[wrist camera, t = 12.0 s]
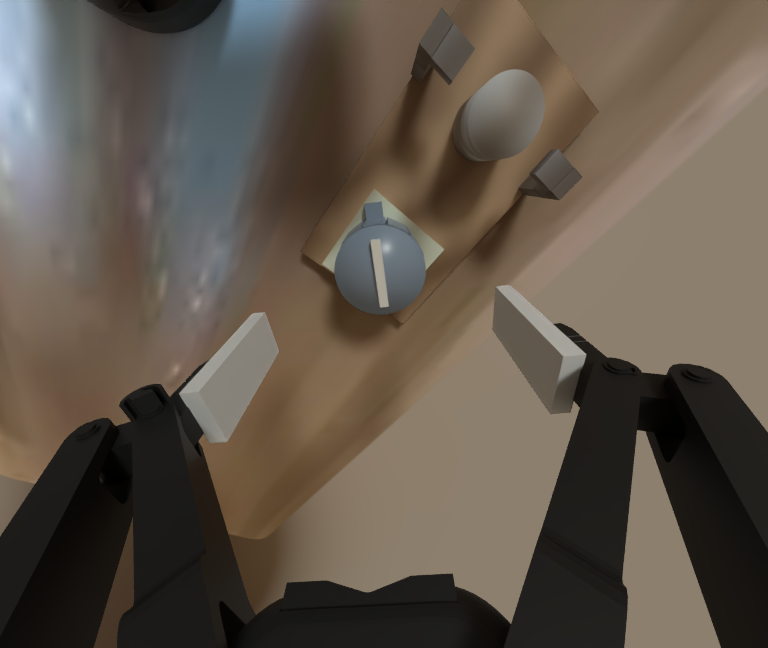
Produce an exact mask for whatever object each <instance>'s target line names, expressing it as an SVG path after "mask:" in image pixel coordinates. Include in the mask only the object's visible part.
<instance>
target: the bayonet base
mask: <svg viewBox="0 0 768 648" xmlns="http://www.w3.org/2000/svg"><path fill="white" fill-rule="evenodd" d="M411 74H412V75H413V76H412V78H411V80H410V81H409V83H408V84H407V86H406V87H405V89H404V90H403V92H402V94H401V95H400V97H399V98H398V100H397V101H396V103H395V105H394V106H393V108H392V109H391V111H390V112H389V114H388V115H387V117H386V119H385V120H384V122H383V123H382V125H381V126H380V128H379V129H378V131H377V133H376V134H375V136H374V137H373V139H372V140H371V142H370V143H369V145H368V147H367V148H366V150H365V151H364V153H363V154H362V156H361V158H360V159H359V161H358V162H357V164H356V165H355V167H354V168H353V170H352V172H351V173H350V175H349V176H348V178H347V179H346V181H345V182H344V184H343V186H342V187H341V189H340V190H339V192H338V193H337V195H336V196H335V198H334V200H333V201H332V203H331V204H330V206H329V207H328V209H327V211H326V212H325V214H324V215H323V217H322V218H321V220H320V221H319V223H318V225H317V226H316V228H315V229H314V231H313V232H312V234H311V235H310V237H309V239H308V240H307V242H306V243H305V245H304V246H303V248H302V249H301V252H302V253H303V254H305V255H306V256H308V257H309V258H310V259H312V260H313V261H315V262H316V263H318V264H319V265H320V266H322V267H323V268H325V269H326V270H327V271H329V272H330V273H332V274H333V275H334V276H335V274H334V267H335V261H336V257H337V254H338V252H339V250H340V247H341V244H342V242H343V240H344V239H345V237H346V235H347V234H348V232H350V231H351V230H352V229H353V228H354V227H356V226H357V225H358V224H359V223H360V222H362V221H363V220H364V222H365V219H366V213H365V206H364V204H365V203H371V202H378V201H382V208H383V216H384V217H385V220H386V219H387V217H389V218H391V219H393V220H396V221H398V222H400V223H402V224H405V225H406V227H408V228H409V230H410V231H411V233H412V234H413V236H414V237H415V239H416V240H417V241H418V243H419V245H420V247H421V249H422V251H423V254H424V260H425V266H426V276H425V281H424V285H423V287H422V290H421V291H420V293H419V295H418V296H417V297H416V299H415V300H414V301H413V302H412V303H411V304H410V305H408V306H407V307H405V308H404V309H402V310H400V311H397V312H395V313H391V314H389V315H391V316H392V317H394V318H395V319H397V320H398V321H399V322H401V323H402V324H403V323H404V322H405V321H406V320H407V319H408V318H409V316H410V315H411V314H412V313H413V312H414V311H415V310H416V309H417V308H418V307H419V306H420V305H421V304H422V302H423V301H424V300H425V299H426V298H427V297H428V296H429V295H430V294H431V293H432V292H433V291H434V289H435V288H436V287H437V286H438V285H439V284H440V283H441V282H442V281H443V280H444V279H445V278H446V277H447V275H448V274H449V273H450V272H451V271H452V270H453V269H454V268H455V267H456V266H457V265H458V264H459V263H460V261H461V260H462V259H463V258H464V257H465V256H466V255H467V254H468V253H469V252H470V251H471V250H472V249H473V247H474V246H475V245H476V244H477V243H478V242H479V241H480V240H481V239H482V238H483V237H484V236H485V235H486V233H487V232H488V231H489V230H490V229H491V228H492V227H493V226H494V225H495V224H496V223H497V222H498V221H499V219H500V218H501V217H502V216H503V215H504V214H505V213H506V212H507V211H508V210H509V209H510V208H511V207H512V205H513V204H514V203H515V202H516V201H517V200H518V199H519V198H520V197H521V196H522V195H523V194H525V195H529V196H535V197H542V198H548V199H555V200H560V199H561V198H562V197H563V196H564V195H565V194H566V193H567V192H568V191H569V190H570V189H571V188H572V187H573V186H574V185H575V184H576V183H577V182H578V181H579V180H580V179H581V178H582V176H581V175H580V174H579V172H578V171H577V170H576V169H575V168H574V167H573V166H572V165H571V164H570V163H569V161H568V160H567V159H566V158H565V157H564V155H563V154H562V152H563V150H564V149H565V148H566V147H567V146H568V145H569V144H570V143H571V142H572V141H573V140H574V139H575V138H576V136H577V135H578V134H579V133H580V132H581V131H582V130H583V129H584V128H585V127H586V126H587V125H588V124H589V122H590V121H591V120H592V119H593V118H594V117H595V116H596V115H597V114H598V113H599V111H598V110H597V108H596V107H595V106H594V104H593V103H592V101H591V100H590V99H589V97H588V96H587V95H586V93H585V92H584V90H583V89H582V88H581V86H580V85H579V84H578V82H577V81H576V80H575V78H574V77H573V75H572V74H571V73H570V71H569V70H568V69H567V67H566V66H565V65H564V63H563V62H562V60H561V59H560V58H559V56H558V55H557V54H556V52H555V51H554V49H553V48H552V47H551V45H550V44H549V43H548V41H547V40H546V39H545V37H544V36H543V34H542V33H541V32H540V30H539V29H538V28H537V26H536V25H535V24H534V22H533V21H532V19H531V18H530V17H529V15H528V14H527V13H526V11H525V10H524V8H523V7H522V6H521V4H520V3H519V2H518V0H461V2H460V3H459V5H458V6H457V8H456V9H455V11H454V13H453V14H452V16H451V17H449V16H448V14H447V13H446V12H445V11H444V10H443V8H441V10H440V11H439V13H438V14H437V16H436V18H435V19H434V21H433V22H432V24H431V26H430V27H429V29H428V30H427V32H426V34H425V35H424V37H423V39H422V40H421V42H420V43H419V47H418V50H417V54H416V58H415V61H414V65H413V68H412V72H411Z"/></svg>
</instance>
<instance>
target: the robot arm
mask: <svg viewBox="0 0 768 648" xmlns="http://www.w3.org/2000/svg"><path fill="white" fill-rule="evenodd" d="M88 1H89V2H91V3H92V4H94V5H95V6H97V7H99V8H101V9H102V10H104V11H106V12H107V13H109V14H111V15H112V16H114V17H116V18H118V19H119V20H121V21H123V22H125V23H127V24H129V25H131V26H134V27H136V28H139V29H142V30H146V31H150V32H157V33H174V32H180V31H183V30H187V29H189V28H191V27H194V26H195V25H197V24H199V23H200V22H202V21H203V20H204V19H205V18H207V17H208V16H209V15H210V14H211V13H212V12H213V10H214V9H215V8H216V7H217V5H218V4H219V3H220V1H221V0H88ZM492 330H493V331H494V333H495V334H496V336H497V337H498V339H499V340H500V341H501V343H502V344H503V346H504V347H505V349H506V350H507V352H508V353H509V355H510V356H511V357H512V359H513V360H514V362H515V363H516V365H517V366H518V368H519V369H520V371H521V372H522V373H523V375H524V376H525V378H526V379H527V381H528V382H529V384H530V385H531V387H532V388H533V390H534V391H535V392H536V394H537V395H538V397H539V398H540V400H541V401H542V403H543V404H544V406H545V407H546V408H547V410H548V411H549V413H550V414H556V413H569V412H571V409H572V405H573V402H574V401H575V403H576V404H577V405H578V406H579V407H580V409H579V412H578V416H577V419H576V422H575V425H574V428H573V431H572V435H571V438H570V441H569V444H568V447H567V450H566V454H565V457H564V460H563V463H562V466H561V469H560V473H559V476H558V479H557V482H556V485H555V488H554V492H553V495H552V498H551V501H550V504H549V507H548V511H547V514H546V517H545V520H544V523H543V527H542V529H541V532H540V535H539V538H538V541H537V544H536V547H535V550H534V554H533V557H532V560H531V563H530V566H529V569H528V572H527V576H526V579H525V582H524V585H523V588H522V591H521V594H520V598H519V601H518V604H517V607H516V611H515V614H514V617H513V620H512V623H511V624H510V623H509V622H508V620H507V619H505V617H503V615H501V614H500V613H499V612H498V611H497V610H496V609H495V608H494V607H493V606H491V605H490V604H489V603H488V602H486V601H485V600H483V599H482V598H480V597H478V596H477V595H475V594H473V593H471V592H469V591H466V590H465V589H461V588H458V587H455V585H454V579H453V574H436V575H417V576H409V577H407V578H405V579H402V580H400V581H397V582H395V583H392V584H390V585H387V586H385V587H382V588H380V589H377V590H375V591H372V592H369V593H366V592H361V591H359V590H355V589H352V588H349V587H346V586H343V585H339V584H336V583H333V582H330V581H309V582H291V583H287V585H286V589H285V594H284V598H282V599H279V600H277V601H276V602H274V603H272V604H270V605H269V606H268V607H266V608H265V609H263V610H262V611H261V612H259V613H258V614H257V615H256V614H255V612H254V611H253V609H252V607H251V605H250V603H249V600H248V597H247V595H246V591H245V588H244V585H243V581H242V578H241V575H240V571H239V568H238V565H237V562H236V558H235V555H234V552H233V548H232V545H231V542H230V538H229V535H228V532H227V528H226V525H225V522H224V519H223V515H222V512H221V509H220V505H219V502H218V499H217V495H216V492H215V489H214V485H213V482H212V479H211V476H210V472H209V469H208V466H207V462H206V459H205V456H204V452H203V449H202V447H201V445H200V443H199V442H198V441H199V439H200V438H201V436H202V435H203V434H204V435H205V436H206V438H207V440H208V441H209V443H218V442H227V441H228V440H229V438H230V436H231V434H232V433H233V431H234V429H235V427H236V426H237V424H238V422H239V421H240V419H241V417H242V415H243V414H244V412H245V410H246V408H247V407H248V405H249V403H250V401H251V400H252V398H253V396H254V395H255V393H256V391H257V389H258V388H259V386H260V384H261V382H262V381H263V379H264V377H265V375H266V374H267V372H268V370H269V368H270V367H271V365H272V363H273V362H274V360H275V358H276V356H277V355H278V353H279V349H278V347H277V344H276V341H275V338H274V336H273V333H272V330H271V327H270V324H269V322H268V319H267V316H266V313H265V312H263V313H254V314H251V316H250V317H249V318H248V319H247V320H246V321H245V322H244V323H243V324H242V325H241V326H240V328H239V329H238V330H237V331H236V332H235V333H234V334H233V335H232V336H231V337H230V338H229V340H228V341H227V342H226V343H225V344H224V345H223V346H222V347H221V348H220V349H219V350H218V351H217V353H216V354H215V355H214V356H213V357H212V358H211V359H210V360H208V361H206V362H205V363H203V364H202V365H201V366H199V367H198V368H197V369H196V370H195V371H194V372H193V373H192V374H191V376H189V377H188V378H187V380H186V382H184V383H183V384H182V385H181V386H180V387H179V388H178V389H177V390H176V391H175V392H174V393H173V394H172V395H171V396H170V397H169V396H168V394H167V393H166V391H165V390H164V388H163V387H162V385H161V384H151V385H147V386H144V387H141V388H139V389H137V390H135V391H133V392H132V393H130V394H129V395H127V396H126V397H125V398H124V399H123V400H122V401H121V402H120V405H119V406H120V408H121V409H122V410H123V411H124V413H125V414H126V415H127V417H128V418H129V419H130V420H131V422H128V423H125V424H122V425H118V426H115V425H114V424H113V423H112V421H111V420H110V419H108V418H101V419H97V420H94V421H92V422H89V423H86V424H84V425H83V426H80V427H79V428H77V429H76V430H75V431H74V432H72V433H71V434H70V435H69V436H68V437H67V438H66V439H65V440H64V442H63V443H62V445H61V446H60V448H59V449H58V451H57V452H56V454H55V455H54V457H53V458H52V460H51V461H50V463H49V464H48V466H47V467H46V469H45V470H44V472H43V473H42V475H41V476H40V478H39V479H38V481H37V482H36V484H35V485H34V487H33V488H32V490H31V491H30V493H29V494H28V496H27V497H26V499H25V500H24V502H23V503H22V505H21V506H20V508H19V509H18V511H17V512H16V514H15V515H14V517H13V518H12V520H11V521H10V523H9V524H8V526H7V527H6V529H5V530H4V532H3V533H2V535H1V536H0V648H93V647H94V644H95V641H96V637H97V634H98V631H99V627H100V624H101V621H102V618H103V614H104V611H105V608H106V604H107V601H108V598H109V594H110V591H111V588H112V584H113V581H114V578H115V574H116V571H117V568H118V564H119V561H120V557H121V554H122V551H123V548H124V544H125V541H126V537H127V534H128V531H129V527H130V524H131V521H132V517H133V540H134V544H133V545H134V605H133V607H132V608H131V609H129V610H128V611H127V612H125V613H124V614H123V615H122V617H121V619H120V621H119V627H118V635H117V648H624V644H625V632H626V620H627V604H628V603H627V602H628V595H627V588H626V587H625V586H624V585H623V581H622V573H623V562H624V553H625V543H626V533H627V523H628V513H629V503H630V494H631V484H632V474H633V464H634V454H635V444H636V434H637V433H636V432H637V430H642V431H646V434H647V437H648V440H649V443H650V445H651V448H652V451H653V454H654V457H655V459H656V462H657V465H658V468H659V471H660V474H661V477H662V480H663V483H664V485H665V488H666V491H667V494H668V497H669V500H670V503H671V505H672V508H673V511H674V514H675V517H676V520H677V523H678V526H679V528H680V531H681V534H682V537H683V540H684V542H685V546H686V548H687V551H688V554H689V557H690V560H691V562H692V566H693V568H694V571H695V574H696V577H697V580H698V583H699V586H700V588H701V591H702V594H703V597H704V600H705V603H706V606H707V608H708V611H709V614H710V617H711V620H712V623H713V626H714V629H715V631H716V634H717V637H718V640H719V643H720V646H721V648H768V432H767V431H766V430H765V428H764V427H763V426H762V425H761V423H760V422H759V421H758V419H757V418H756V417H755V416H754V414H753V413H752V412H751V410H750V409H749V408H748V407H747V405H746V404H745V403H744V401H743V400H742V399H741V398H740V396H739V395H738V394H737V392H736V391H735V390H734V389H733V387H732V386H731V385H730V383H729V382H728V381H727V380H726V379H725V378H724V377H723V376H721V375H720V374H718V373H716V372H714V371H712V370H710V369H708V368H704V367H702V366H696V365H691V364H676V365H672V366H671V367H670V368H669V370H668V373H667V375H661V374H660V375H659V374H651V373H642V372H641V370H640V369H639V368H638V367H636V366H635V365H633V364H631V363H630V362H627V361H624V360H621V359H617V358H607V357H606V356H605V355H603V354H602V353H601V352H600V351H598V350H597V349H596V348H595V347H594V346H593V345H591V344H590V343H589V342H587V341H586V340H585V339H584V338H583V337H582V336H580V335H579V334H578V333H577V332H576V331H574V330H573V329H572V328H570V327H568V326H566V325H564V324H561V323H558V324H552V323H551V322H550V321H549V320H548V319H547V318H546V317H545V316H544V315H542V314H541V313H540V312H539V311H538V310H537V309H536V308H535V307H534V306H532V305H531V304H530V303H529V302H528V301H527V300H526V299H525V298H524V297H522V296H521V295H520V294H519V293H518V292H517V291H516V290H515V289H514V288H513V287H511V286H510V285H505V286H496V288H495V301H494V314H493V328H492Z"/></svg>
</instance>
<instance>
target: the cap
mask: <svg viewBox="0 0 768 648" xmlns="http://www.w3.org/2000/svg"><path fill="white" fill-rule="evenodd" d="M364 206H365V213H366V219H365V222H364V220H363V221H362V222H360V223H359V224H358V225H357V226H356V227H354V228H353V229H352V230H351V231H350V232H348V234H347V235H346V237H345V239H344V240H343V242H342V244H341V247H340V250H339V252H338V254H337V257H336V261H335V267H334V274H335V280H336V283H337V286H338V288H339V291H340V292H341V294H342V295H343V297H344V298H345V299H346V300H347V301H348V302H349V303H350V304H351V305H353V306H354V307H355V308H357V309H359V310H361V311H363V312H366V313H370V314H376V315H385V314H391V313H395V312H397V311H400V310H402V309H404V308H405V307H407V306H408V305H410V304H411V303H412V302H413V301H414V300H415V299H416V297H417V296H418V295H419V293H420V291H421V290H422V287H423V285H424V281H425V276H426V266H425V260H424V254H423V251H422V249H421V247H420V245H419V243H418V241H417V240H416V239H415V237H414V236H413V234H412V233H411V231H410V230H409V228H408V227H406V225H405V224H402V223H400V222H398V221H396V220H393V219H391V218H389V217H387V219H386V220H385V217H384V216H383V208H382V201H378V202H371V203H365V204H364Z"/></svg>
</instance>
